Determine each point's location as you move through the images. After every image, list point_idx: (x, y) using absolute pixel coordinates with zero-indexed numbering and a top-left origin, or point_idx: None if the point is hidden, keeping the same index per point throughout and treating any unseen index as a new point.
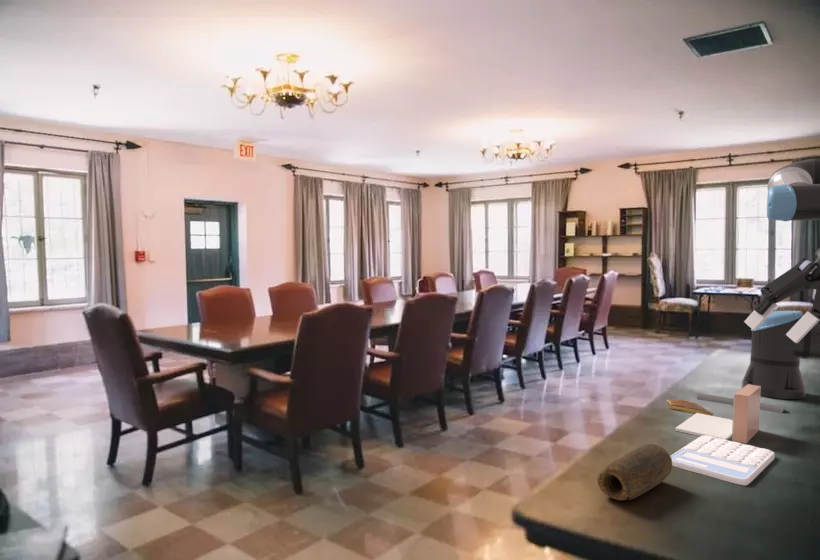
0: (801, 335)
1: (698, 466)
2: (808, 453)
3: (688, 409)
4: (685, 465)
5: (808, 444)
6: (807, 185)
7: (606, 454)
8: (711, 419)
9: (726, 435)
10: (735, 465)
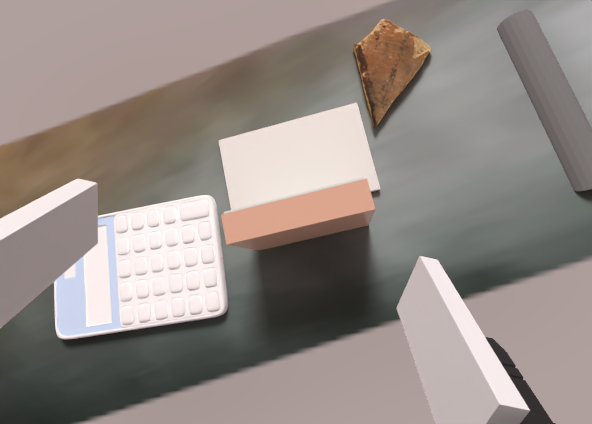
0: (407, 339)
1: None
2: (301, 343)
3: (362, 81)
4: None
5: (361, 323)
6: None
7: (30, 157)
8: (336, 144)
9: None
10: (109, 300)
